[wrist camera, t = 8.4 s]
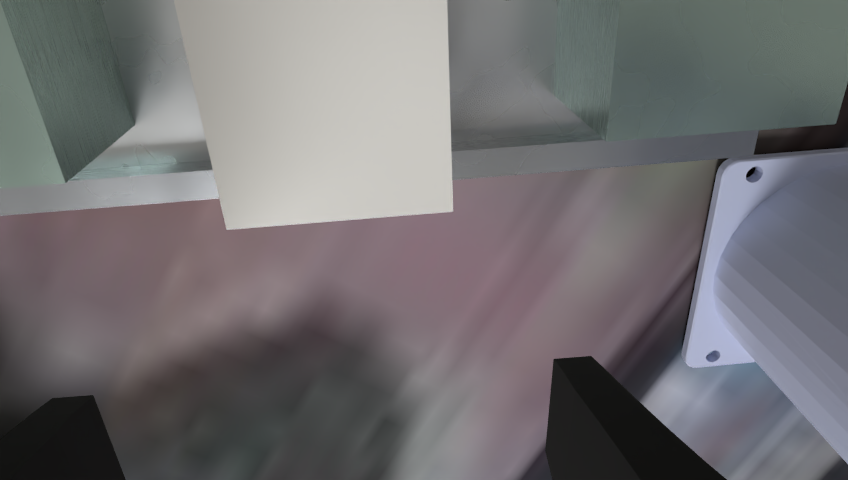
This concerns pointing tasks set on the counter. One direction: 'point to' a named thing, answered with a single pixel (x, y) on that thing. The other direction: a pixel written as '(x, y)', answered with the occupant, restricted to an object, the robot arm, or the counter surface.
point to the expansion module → (322, 107)
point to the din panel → (469, 90)
